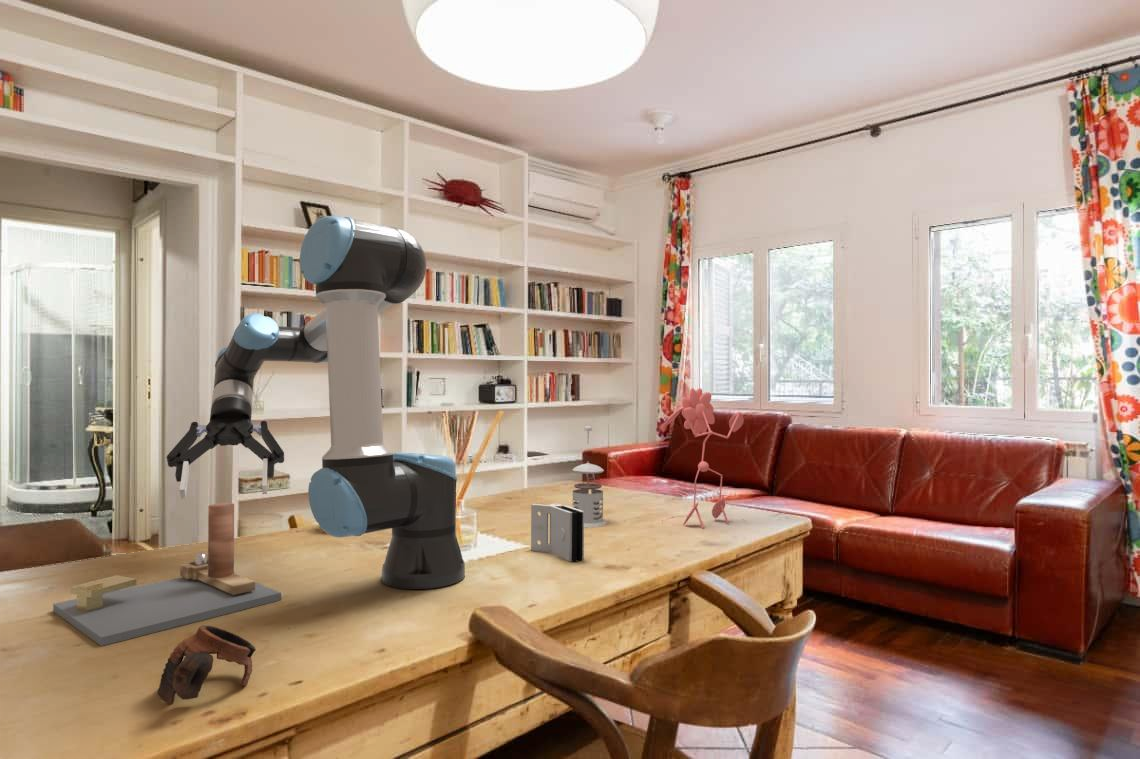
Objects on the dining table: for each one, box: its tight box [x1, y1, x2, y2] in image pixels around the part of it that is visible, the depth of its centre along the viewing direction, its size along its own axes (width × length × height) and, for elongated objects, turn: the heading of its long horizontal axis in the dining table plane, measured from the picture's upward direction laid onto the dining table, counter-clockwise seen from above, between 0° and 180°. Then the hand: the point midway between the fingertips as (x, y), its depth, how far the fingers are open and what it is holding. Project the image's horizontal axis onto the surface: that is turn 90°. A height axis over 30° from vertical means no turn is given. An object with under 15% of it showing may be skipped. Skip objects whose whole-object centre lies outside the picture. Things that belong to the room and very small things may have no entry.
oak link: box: [179, 502, 256, 595], centre depth 120 cm, size 19×6×13 cm, turn 51°
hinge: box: [530, 503, 585, 563], centre depth 147 cm, size 14×5×10 cm, turn 43°
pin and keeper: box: [70, 552, 208, 612], centre depth 116 cm, size 5×21×4 cm, turn 156°
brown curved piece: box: [157, 625, 257, 706], centre depth 82 cm, size 12×10×8 cm
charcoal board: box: [52, 576, 282, 647], centre depth 113 cm, size 22×26×1 cm
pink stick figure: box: [660, 387, 747, 529], centre depth 181 cm, size 15×26×35 cm, turn 126°
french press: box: [571, 425, 608, 528], centre depth 179 cm, size 10×12×25 cm
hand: (224, 492), depth 128 cm, fingers open, 13 cm apart
